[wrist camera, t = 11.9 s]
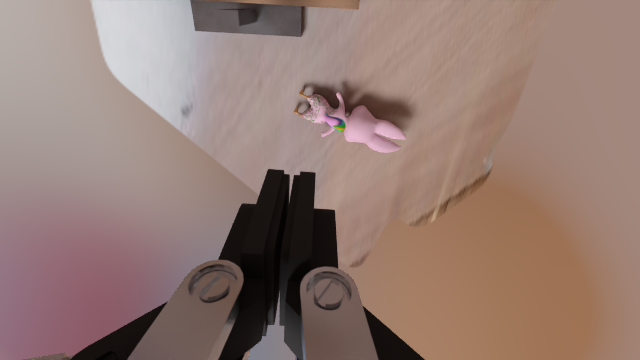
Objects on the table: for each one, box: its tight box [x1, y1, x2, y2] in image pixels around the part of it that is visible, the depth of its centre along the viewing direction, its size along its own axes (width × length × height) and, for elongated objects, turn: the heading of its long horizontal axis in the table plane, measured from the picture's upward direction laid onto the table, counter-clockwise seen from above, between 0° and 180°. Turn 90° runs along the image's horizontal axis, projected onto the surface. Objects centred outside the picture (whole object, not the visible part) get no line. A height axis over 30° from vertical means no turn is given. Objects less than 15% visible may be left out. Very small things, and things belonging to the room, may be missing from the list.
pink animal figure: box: [293, 89, 406, 153], centre depth 36 cm, size 6×6×15 cm
